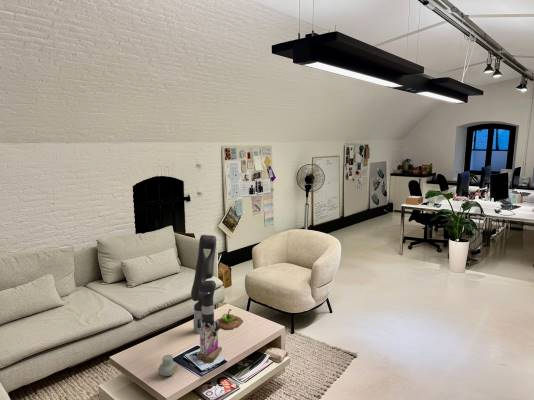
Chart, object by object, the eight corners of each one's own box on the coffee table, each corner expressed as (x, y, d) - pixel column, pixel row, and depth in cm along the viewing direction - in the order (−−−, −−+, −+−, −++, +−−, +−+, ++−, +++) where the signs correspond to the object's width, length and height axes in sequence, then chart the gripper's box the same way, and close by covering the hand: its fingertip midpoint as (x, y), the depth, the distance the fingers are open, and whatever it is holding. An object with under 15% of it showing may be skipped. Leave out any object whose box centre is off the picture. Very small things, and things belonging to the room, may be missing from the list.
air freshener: (168, 379, 215) (167, 363, 214) (156, 376, 219) (155, 360, 217) (179, 369, 225) (179, 353, 224) (168, 366, 229) (167, 351, 227)
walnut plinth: (197, 359, 235) (196, 355, 235) (206, 348, 248) (206, 344, 247) (213, 362, 232) (212, 357, 232) (221, 351, 244) (221, 347, 244)
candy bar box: (205, 356, 234) (204, 331, 231) (200, 353, 237) (199, 328, 235) (218, 348, 242) (218, 324, 240) (213, 346, 245) (212, 322, 243)
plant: (247, 322, 285) (247, 308, 284) (231, 333, 269) (231, 318, 268) (226, 316, 296) (226, 302, 294) (210, 326, 280) (209, 311, 278)
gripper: (194, 312, 234) (195, 336, 237) (215, 315, 230) (216, 340, 232) (200, 307, 241) (201, 331, 244) (220, 310, 237) (221, 334, 239)
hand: (208, 335), depth 238 cm, fingers open, 8 cm apart
